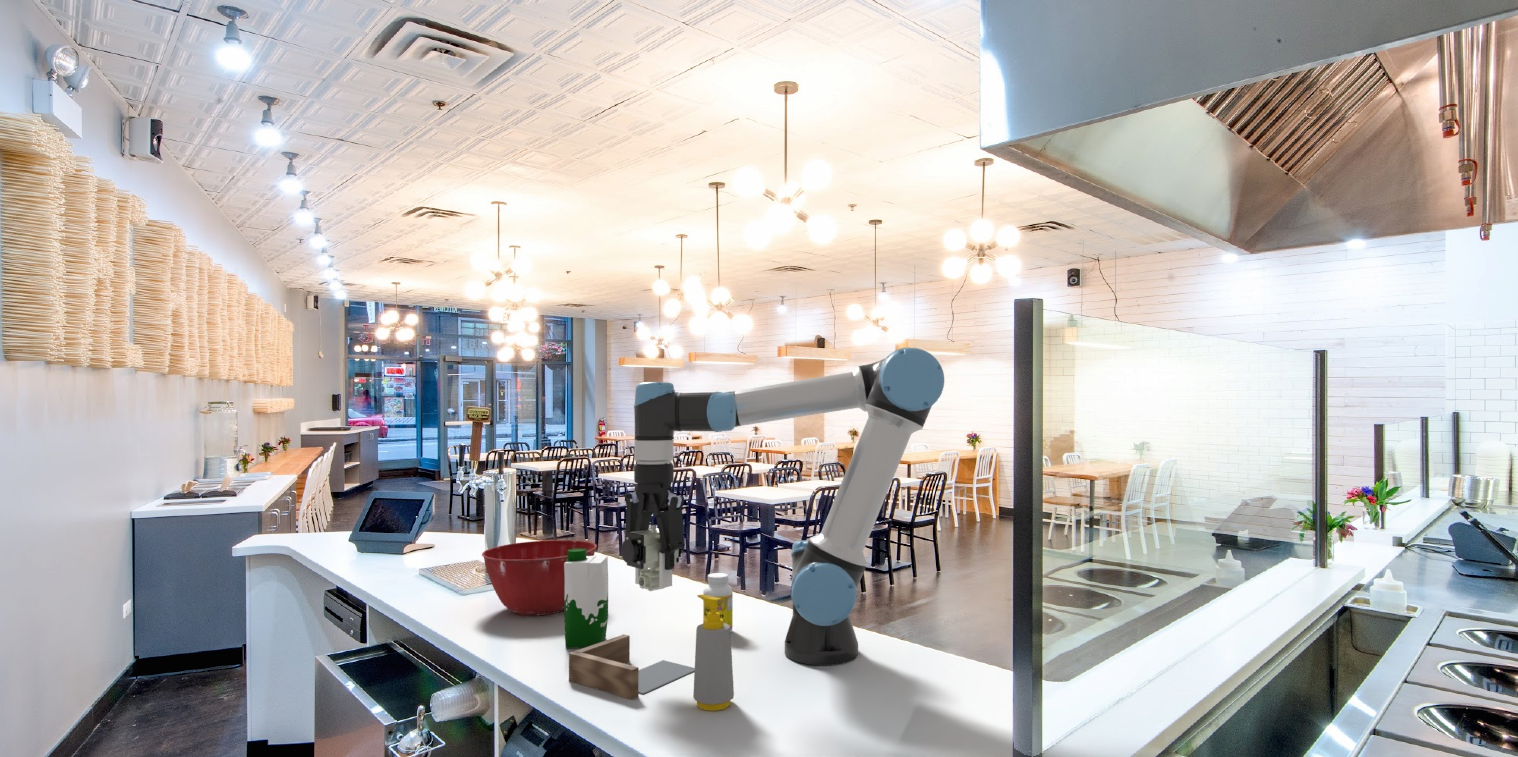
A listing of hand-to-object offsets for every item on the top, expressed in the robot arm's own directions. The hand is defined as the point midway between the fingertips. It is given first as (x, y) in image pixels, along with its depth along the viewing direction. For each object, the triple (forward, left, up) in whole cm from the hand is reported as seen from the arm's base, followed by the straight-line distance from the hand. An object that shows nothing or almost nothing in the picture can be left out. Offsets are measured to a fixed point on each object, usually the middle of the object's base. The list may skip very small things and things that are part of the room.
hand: (653, 584), depth 138 cm
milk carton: (+26, -6, -17) cm, 32 cm away
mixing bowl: (+58, -19, -17) cm, 63 cm away
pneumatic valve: (0, 0, -1) cm, 1 cm away
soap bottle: (-18, +5, -17) cm, 25 cm away
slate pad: (-1, +1, -17) cm, 17 cm away
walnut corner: (+3, +4, -17) cm, 18 cm away
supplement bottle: (+7, -28, -17) cm, 34 cm away
